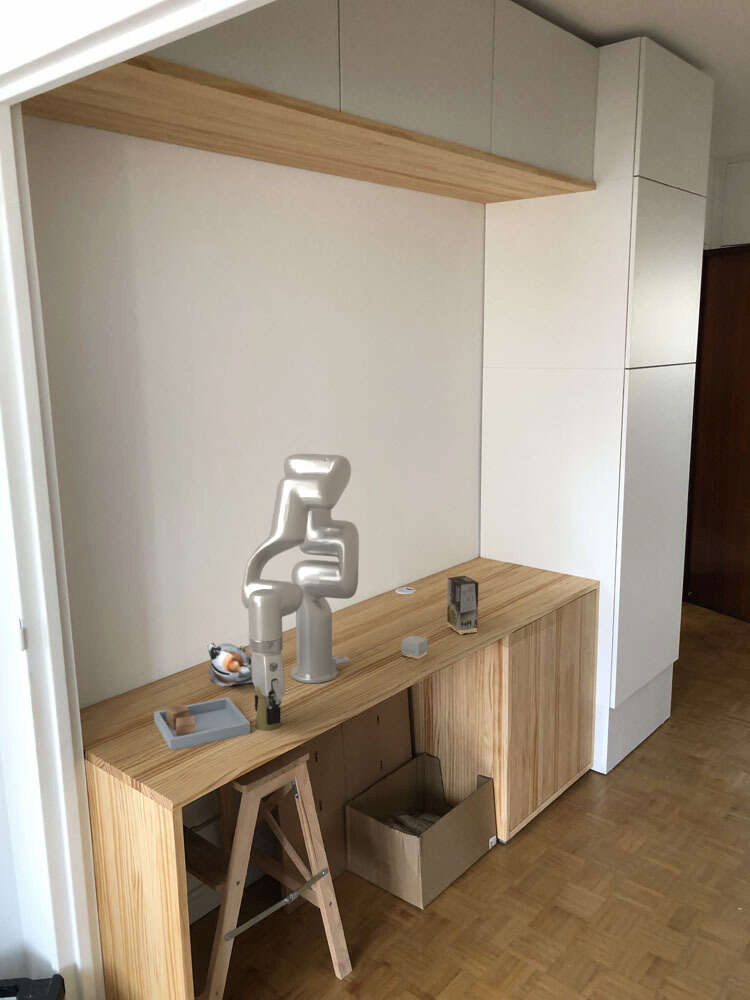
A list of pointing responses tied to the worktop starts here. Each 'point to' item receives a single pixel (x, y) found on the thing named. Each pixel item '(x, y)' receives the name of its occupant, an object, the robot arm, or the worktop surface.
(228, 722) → the tray
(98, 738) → the worktop surface
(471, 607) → the coffee box
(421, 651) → the small box
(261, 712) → the cork
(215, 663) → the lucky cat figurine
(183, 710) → the walnut block
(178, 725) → the walnut block
